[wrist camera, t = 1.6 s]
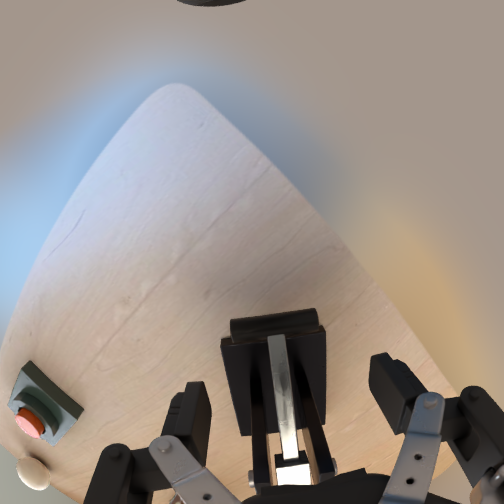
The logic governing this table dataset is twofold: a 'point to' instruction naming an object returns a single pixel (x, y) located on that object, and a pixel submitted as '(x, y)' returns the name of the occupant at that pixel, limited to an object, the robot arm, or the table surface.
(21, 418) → the button
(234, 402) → the bracket
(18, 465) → the cream ball
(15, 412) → the button box
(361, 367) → the table surface
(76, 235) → the table surface
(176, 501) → the food container
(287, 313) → the lever
